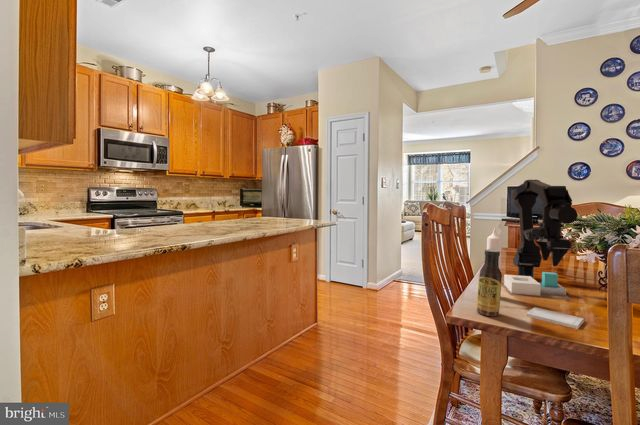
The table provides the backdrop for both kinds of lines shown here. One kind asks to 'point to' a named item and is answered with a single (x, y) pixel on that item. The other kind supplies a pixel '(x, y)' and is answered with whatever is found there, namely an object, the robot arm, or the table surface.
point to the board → (542, 295)
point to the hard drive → (555, 317)
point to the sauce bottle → (489, 285)
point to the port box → (522, 285)
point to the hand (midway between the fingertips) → (549, 263)
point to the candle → (495, 244)
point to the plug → (549, 279)
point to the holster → (553, 290)
